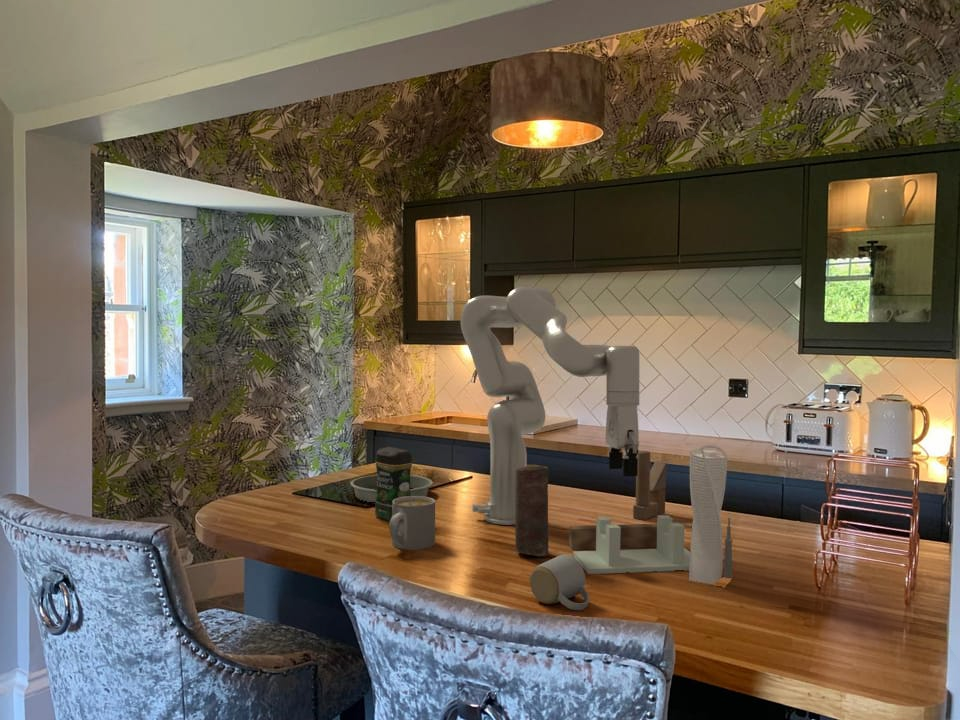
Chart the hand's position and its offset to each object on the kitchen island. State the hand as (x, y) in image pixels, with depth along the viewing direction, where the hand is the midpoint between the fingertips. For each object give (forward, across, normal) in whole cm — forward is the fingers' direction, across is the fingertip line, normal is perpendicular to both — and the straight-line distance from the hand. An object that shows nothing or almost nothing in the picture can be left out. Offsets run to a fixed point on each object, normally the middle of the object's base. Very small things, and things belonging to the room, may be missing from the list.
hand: (622, 472), depth 167 cm
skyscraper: (+18, +24, +9) cm, 32 cm away
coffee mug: (+17, -6, -50) cm, 53 cm away
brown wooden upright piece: (+17, -26, +17) cm, 35 cm away
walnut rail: (+18, 0, -1) cm, 18 cm away
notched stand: (+17, +12, -1) cm, 21 cm away
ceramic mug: (+18, +32, -23) cm, 43 cm away
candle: (+17, +4, -23) cm, 29 cm away
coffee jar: (+16, -32, -52) cm, 63 cm away
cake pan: (+16, -58, -52) cm, 79 cm away
